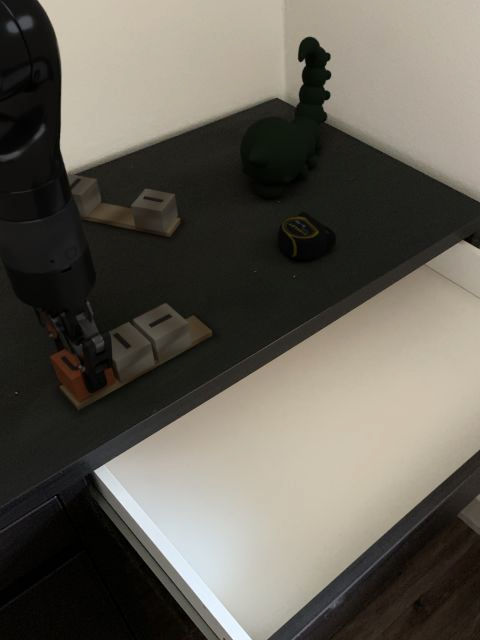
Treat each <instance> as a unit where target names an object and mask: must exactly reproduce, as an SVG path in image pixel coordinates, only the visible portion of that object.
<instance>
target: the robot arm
mask: <svg viewBox="0 0 480 640" xmlns="http://www.w3.org/2000/svg"><path fill="white" fill-rule="evenodd" d="M53 25H54V24H53V23H52V21H51V19H50V17H49V15H48V13H47V11H46V9H45V8H44V7H43V6H42V4H41V2H40V1H39V0H0V259H1V262H2V264H3V267H4V270H5V272H6V275H7V277H8V281H9V283H10V285H11V288H12V291H13V293H14V295H15V297H17V299H18V300H19V301H20V302H22V303H23V304H25V305H27V306H30V307H31V308H32V309H33V312H34V314H35V316H36V318H37V320H38V322H37V323H39V325H40V326H41V327H43V328H45V329H46V331H47V333H48V337H49V339H51V340H52V341H53V342H54V345H55V348H56V351H57V352H59V351H62V350H64V349H65V350H66V351H67V352H69V353H70V354H72V355H73V356H74V358H75V360H76V362H77V365H78V368H79V370H80V373H81V375H82V378H83V381H84V385H85V388H86V390H87V391H88V392H89V393H94V392H96V391H98V390H100V389H102V388H104V387H105V386H106V385H107V379H106V376H105V372H104V371H105V370H106V369H109V368H111V367H113V358H112V341H111V335H110V333H109V332H110V331H108V330H107V329H102V330H100V331H99V329H98V326H97V325H96V322H95V319H94V317H93V316H94V311H93V308H92V306H91V303H90V302H89V300H88V299H87V298H88V296H89V295H90V293H91V292H92V290H93V289H94V287H95V284H96V281H97V273H96V269H95V265H94V260H93V257H92V253H91V249H90V246H89V245H90V244H89V241H88V237H87V234H86V230H85V225H84V221H83V219H82V218H81V215H80V211H79V209H78V206H77V204H76V202H75V199H74V197H73V194H72V191H71V187H70V183H69V179H68V176H67V175H68V173H67V169H66V164H65V161H64V158H63V154H62V150H61V134H62V133H61V132H62V88H63V87H62V85H63V83H62V82H63V81H62V79H63V71H62V58H61V57H62V56H61V50H60V45H59V41H58V37H57V33H56V31H55V29H54V26H53ZM82 351H83V357H82V355H81V352H82Z"/></svg>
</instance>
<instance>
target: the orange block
mask: <svg viewBox="0 0 480 640" xmlns="http://www.w3.org/2000/svg"><path fill="white" fill-rule="evenodd" d="M81 355H82V357H83V351H82V352H81ZM49 358H50V361H51V363H52V366H53V369H54V372H55V374H56V377H57V379H58V380H59V382H60V383H61V385H64V386H65V387H66V388H67V389H68V390H69V391H70V393H71V394H72V395H73V396H74V397H75V398H76V399H77V400H78V401H79V402H80V401H82V400H83V399H85V398H87V397H89V396H91V395H92V394H94V393H96V392H98V391H100V390H101V389H100V390H98V391H96V392H94V393H89V392H88V391H87V390H86V388H85V385H84V381H83V378H82V375H81V373H80V370H79V368H78V365H77V362H76V360H75V358H74V356H73V355H72V354H70V353H69V352H67V351H66V350H65V349H64V350H62V351H59V352H58V351H57V352H55V353H53V354H52V355H50V356H49ZM104 372H105V376H106V379H107V385H106V386H105V387H107V386H109V385H111V384H112V383H114V382H115V378H114V375H113V371H112V367H111V368H109V369H106V370H105V371H104ZM105 387H104V388H105ZM102 389H103V388H102Z"/></svg>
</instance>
